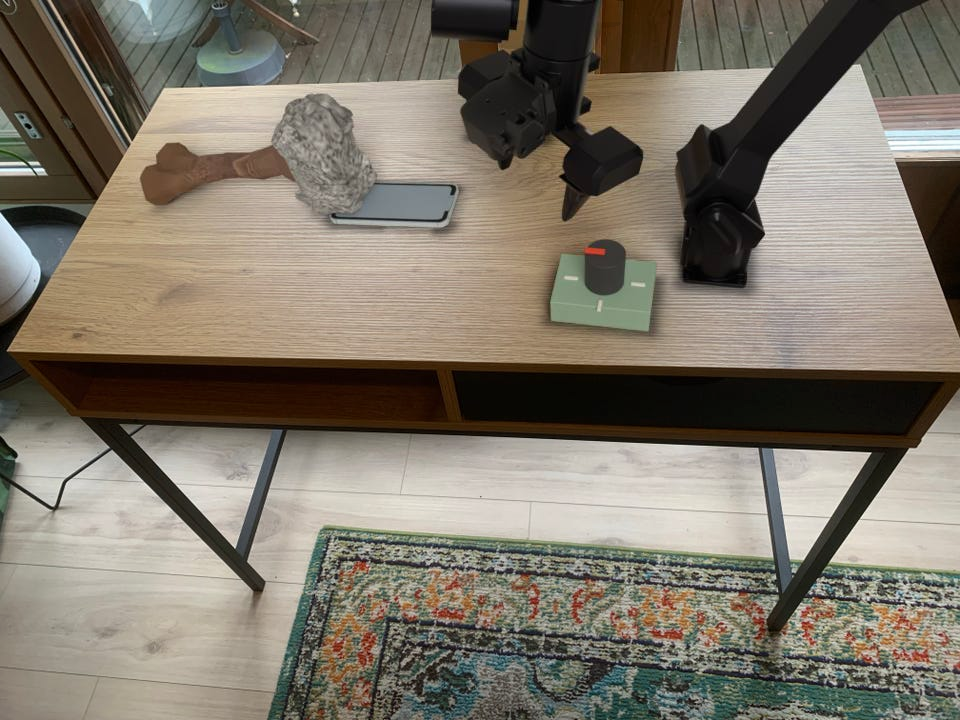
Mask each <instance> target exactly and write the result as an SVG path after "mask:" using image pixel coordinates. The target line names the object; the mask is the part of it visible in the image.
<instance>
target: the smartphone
mask: <svg viewBox="0 0 960 720" xmlns="http://www.w3.org/2000/svg"><path fill="white" fill-rule="evenodd" d="M458 197H459V186H458V185H457V184H455V183H452V182H451V183H449V182H446V183H445V182H411V181H410V182H407V181H405V182H404V181H375V183H374V185H373V187H372V188H371V190H370V191H369V193H368V194H367V195H366V196H365V197H364V203H363V207H362V208H360V209H359V210H357V211H356V212H355V213H353V214H348V213H343V212H340V213H330V214H329V219H330V222H332V223H333V224H335V225H355V226H356V225H357V226H384V227H385V226H386V227H410V228H411V227H412V228H436V229H437V228H439V229H441V228H443V227H446V226H448V225H449V223H450V221H451V218H452V214H453V212H454V209H455V205H456V203H457V199H458Z"/></svg>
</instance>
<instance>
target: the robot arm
mask: <svg viewBox="0 0 960 720" xmlns="http://www.w3.org/2000/svg"><path fill="white" fill-rule="evenodd" d="M520 1H521V0H431V6H430V34H431V35H430V36H431V39H443V40H453V41H454V40H455V41H466V42H467V41H468V42H480V43H481V42H483V43H493V44H494V43H495V44H502V41H504V42H505V41H506V42H508V41H509V39H510V31H517V28H518V23H519V14H520V13H519V12H520V4H521V3H520ZM616 1H617V2H627V1H628V0H616ZM929 1H930V0H827V1H826V2H825V3H824V4H823V6H822V7H821V8H820V10H819V11H818V12H817V14H816V15H815V16H814V17H813V19H811V21H810V22H809V23H808V24H807V26H806V27H805V28H804V30H803V31H802V32H801V33H800V34H799V36H798V37H797V39H795V41H793V43H792V44H791V46H790V47H789V49H788V50H787V51H786V52H785V53H784V55H783V56H782V57H781V58H780V60H779V61H778V62H777V63H776V65H775V66H774V67H773V68H772V70H771V71H770V72H769V73H768V75H767V76H766V77H765V79H764V80H763V81H762V82H761V83H760V85H759V86H758V87H757V88H756V90H755V91H754V92H753V94H751V96H750V97H749V98H748V99H747V101H746V102H745V103H744V104H743V106H742V107H741V109H739V111H738V112H737V113H736V114H735V116H734V117H733V118H732V119H731V120H730V121H729V122H727V123H725V124H723V125H720V126H718V127H715V128H714V129H711V128H709V127H708V126H706V125H705V124H704V123H700V124H699V125H698V126H697V127H696V128H695V130H694V132H693V134H692V136H691V138H690V139H689V141H688V142H687V143H686V144H685V145H684V146H683V147H682V148H680V149H679V150H677V151H676V152H675V155H676V160H677V162H676V163H675V166H674V177H675V181H676V185H677V191H678V196H679V201H680V206H681V211H682V212H681V213H682V217H683V219H684V225H683V231H682V236H681V237H682V238H681V245H680V253H679V261H678V264H679V266H680V267H682V277H681V281H682V282H683V283H685V284H694V285H705V286H713V287H715V286H717V287H725V288H734V289H735V288H736V289H744V288H746V287H747V284H748V267H749V263H750V258H751V255H752V251H753V250H754V249H756V248H757V247H758V245H759V244H760V243H761V241H762V240H763V238H764V237H765V236H766V231H765V228H764V224H763V220H762V217H761V214H760V211H759V207H758V204H757V201H756V198H757V196H758V194H759V191H760V188H761V186H762V183H763V181H764V177H765V174H766V172H767V168H768V166H769V164H770V161H771V160H772V158H773V156H774V154H776V152H777V151H778V150H779V149H780V148H781V147H782V145H784V143H785V142H787V140H788V139H789V138H790V137H791V136H792V135H793V133H794V132H795V131H796V130H797V129H798V128H799V127H800V126H801V125H802V124H803V122H804V121H805V120H806V119H807V118H808V117H809V115H811V113H812V112H813V111H814V110H815V109H816V107H817V106H818V105H819V104H820V103H821V102H822V101H823V100H824V98H825V97H826V96H827V95H828V94H829V93H830V92H831V91H832V90H833V88H834V87H835V86H836V85H837V84H838V83H839V82H840V80H842V78H843V77H844V76H845V75H846V74H847V73H848V72H849V71H850V69H851V68H852V67H853V66H854V65H855V64H856V63H857V61H859V59H860V58H861V57H862V56H863V55H864V54H865V52H866V51H868V49H869V48H870V47H871V46H872V45H873V43H875V41H876V40H877V39H878V38H879V37H880V36H881V35H882V34H883V32H884V31H885V30H886V29H887V28H888V27H889V26H890V24H891V23H892V22H894V20H896V19H897V18H898V17H899V16H901V15H902V14H904V13H906V12H908V11H910V10H912V9H914V8H916V7H919V6H921V5H923V4H925V3H927V2H929ZM602 3H603V0H527V4H526V12H525V20H524V28H523V29H524V30H523V36H522V37H523V38H522V45H521V47H519V48H516V49H513V50H512V51H510V53H509V52H508V51H506V50H505V49H503V48H502V49H500V50H497V51H494V52H492V53H490V54H487V55H485V56H482V57H480V58H477V59H474V60H471V61H469V62H467V63H465V64H464V65H463V66H462V68H461V70H460V71H459V73H458V77H457V78H458V79H457V94H458V95H459V96H460V97H462V98H463V99H464V100H465V103H463V105H462V106H461V107H460V110H459V113H460V114H459V115H460V117H461V120H462V123H463V127H464V129H465V132H466V134H467V138H468V140H469V142H470V143H472V144H473V145H476V146H477V147H478V148H479V149H480V150H481V151H483V152H484V153H485V154H486V155H487V157H489V158H490V159H491V160H493V161H496V162H497V165H498V168H499V170H501V171H505V170H507V169H509V168H510V166H511V164H512V162H513V160H514V157H517V158H518V159H519V160H524V159H526V158H527V157H528V156H529V155H531V154H532V153H534V152H535V151H536V150H537V149H538V148H539V147H540V146H541V145H542V144H543V143H544V142H545V141H544V139H545V137H546V138H547V137H548V136H550V135H551V136H553V137H554V138H556V139H557V140H558V141H559V142H561V143H563V145H565V146H566V147H567V148H569V149H568V150H567V152H566V153H565V154H564V156H563V159H562V160H563V161H562V164H561V165H562V166H561V168H562V170H563V173H561V174H559V175H558V179H560V180H561V181H562V182H564V183H565V190H564V196H563V201H562V207H561V221H563V222H568V221H570V220H572V219H573V218H574V216H575V215H576V214H577V213H578V212H579V211H580V209H581V208H582V207H583V206H584V205H585V203H587V201H588V200H589V199H590V198H591V197H600V196H602V195H603V194H606V193H607V192H608V191H611V190H612V189H614V188H616V187H618V186H619V185H622V184H623V183H625V182H627V181H629V180H631V179H633V178H634V177H637V176H638V175H639V174H640V172H641V168H642V164H643V161H644V149H642V148H641V146H640V145H638V144H637V143H635V142H634V141H633V140H631V139H630V138H628V137H627V136H626V135H624V134H623V133H622V132H620V131H619V130H617V129H616V128H614V127H613V126H612V125H609V126H607V127H605V128H603V129H600V130H599V131H597V132H594V131H592V130H591V129H590V128H588V127H586V126H585V124H583V123H581V122H580V121H579V119H580V117H581V116H583V115H586V114H587V113H589V112H591V108H592V103H593V101H592V99H590V98H588V97H586V95H585V90H586V85H587V80H588V75H589V74H590V73H592V72H594V71H597V70H599V69H600V64H601V60H602V57H601V56H600V55H599V54H597V53H595V52H593V49H594V45H595V40H596V34H597V29H598V23H599V20H600V19H599V18H600V13H601V8H602ZM545 140H546V139H545Z"/></svg>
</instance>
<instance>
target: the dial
mask: <svg viewBox="0 0 960 720" xmlns="http://www.w3.org/2000/svg"><path fill="white" fill-rule="evenodd" d="M584 256H585V280H584V281H585V285H586V287H587V289H588V290H589V291H591V292H592V293H594V294H597V295H612V294H614V293H616V292H618V291H619V290H620V289H621V288H622V287H623V285H624V276H625V261H626V259H627V251H626V249H625V247H624V245H622V244H621V243H620V242H618V241H616V240H614V239H609V238H607V239H606V238H605V239H604V238H602V239H597V240H595V241H592V242H590V244H588V245H587V247H586V246H585V249H584Z"/></svg>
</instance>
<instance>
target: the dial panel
mask: <svg viewBox="0 0 960 720" xmlns="http://www.w3.org/2000/svg"><path fill="white" fill-rule="evenodd" d="M657 267H658V262H657V261H651V260H650V261H649V260H640V259H639V260H637V259H627V258H626V261H625V276H624V285H623V287H622V288H621V289H620V290H619V291H618V292H616V293H614V294H612V295H597V294H594V293H592V292H591V291H589V290H588V289H587V287H586V285H585V281H584V280H585V255H582V254H571V253H561V254H560V258H559V263H558V266H557V272H556V274H555V275H556V276H555V279H554V283H553V288H552V292H551V297H550V300H549V303H550V304H549V305H550V306H549V308H550V309H549V310H550V321H551V322H557V323H558V322H559V323H567V324H576V325H577V324H578V325H586V326H593V327H603V328H613V329H623V330H631V331H632V330H633V331H639V332H649V331H650V323H651V315H652V307H653V299H654V292H655V285H656V277H657Z"/></svg>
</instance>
